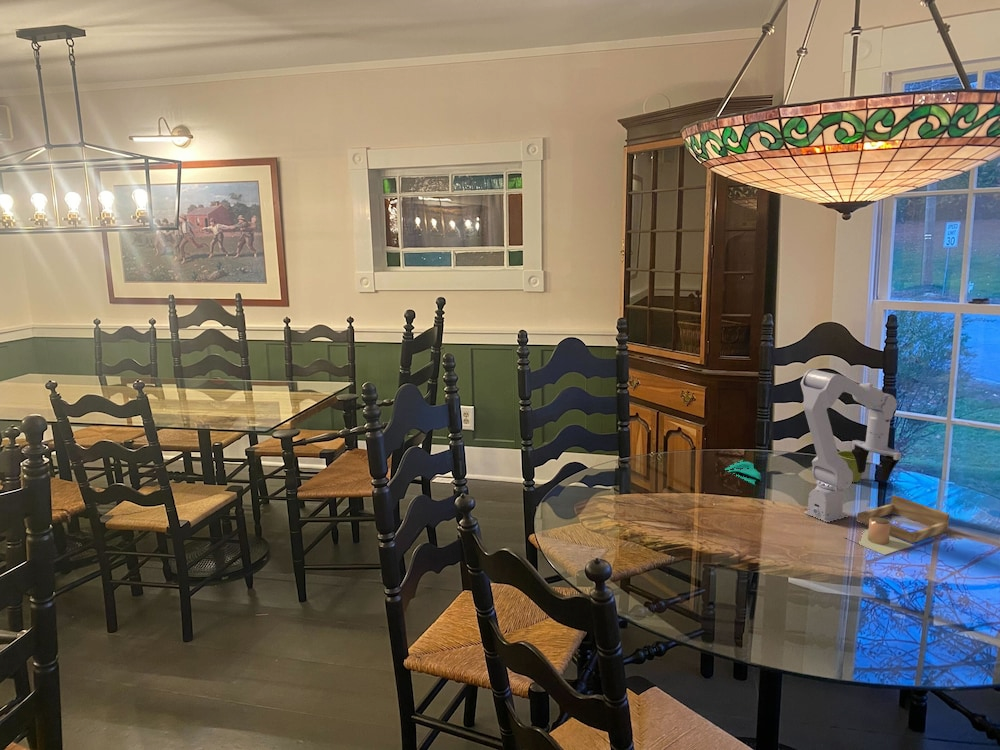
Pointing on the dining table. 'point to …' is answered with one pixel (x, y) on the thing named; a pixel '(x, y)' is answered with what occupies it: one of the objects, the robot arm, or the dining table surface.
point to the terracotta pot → (879, 530)
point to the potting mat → (884, 548)
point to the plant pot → (851, 464)
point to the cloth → (745, 471)
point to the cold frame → (911, 511)
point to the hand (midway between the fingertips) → (872, 476)
